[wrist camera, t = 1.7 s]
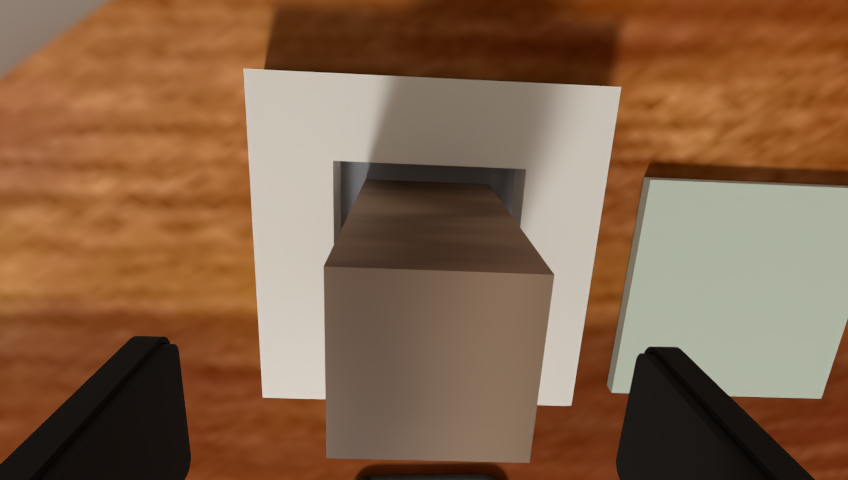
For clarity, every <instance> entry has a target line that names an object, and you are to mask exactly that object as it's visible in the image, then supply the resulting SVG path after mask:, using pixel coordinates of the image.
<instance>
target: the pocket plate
mask: <svg viewBox="0 0 848 480" xmlns="http://www.w3.org/2000/svg"><path fill="white" fill-rule="evenodd" d="M243 70H244V87H245V104H246V121H247V138H248V155H249V172H250V189H251V206H252V223H253V240H254V257H255V274H256V291H257V308H258V325H259V342H260V359H261V377H262V394H263V398H298V399H326V391H325V324H324V265H325V263H326V261H327V258H328V256H329V254H330V252H331V250H332V248H333V246H334V244H335V242H336V240H337V238H338V236H339V234H340V231H341V229H342V227H343V225H344V223H345V221H346V219H347V217H348V215H349V213H350V211H351V209H352V206H353V204H354V202H355V200H356V198H357V196H358V194H359V192H360V190H361V188H362V186H363V184H364V182H365V179H376V180H400V181H424V182H448V183H471V184H489V185H490V186H491V188H492V189H493V191H494V192H495V193H496V195H497V196H498V197H499V199H500V200H501V202H502V203H503V204H504V206H505V207H506V209H507V210H508V211H509V213H510V214H511V215H512V217H513V218H514V220H515V221H516V222H517V224H518V225H519V226H520V228H521V229H522V231H523V232H524V233H525V235H526V236H527V238H528V239H529V240H530V242H531V243H532V244H533V246H534V247H535V249H536V250H537V251H538V253H539V254H540V256H541V257H542V258H543V260H544V261H545V262H546V264H547V265H548V267H549V268H550V269H551V271H552V272H553V273H554V282H553V289H552V297H551V304H550V312H549V319H548V327H547V334H546V342H545V349H544V357H543V364H542V372H541V379H540V387H539V394H538V402H537V405H554V406H571V404H572V398H573V391H574V385H575V379H576V372H577V366H578V359H579V353H580V347H581V340H582V334H583V328H584V321H585V315H586V308H587V302H588V296H589V289H590V283H591V277H592V270H593V264H594V258H595V251H596V245H597V238H598V232H599V226H600V219H601V213H602V207H603V200H604V194H605V188H606V181H607V175H608V168H609V162H610V156H611V149H612V143H613V137H614V130H615V124H616V118H617V111H618V105H619V98H620V92H621V87H612V86H592V85H571V84H550V83H530V82H509V81H489V80H468V79H448V78H427V77H406V76H386V75H365V74H345V73H324V72H303V71H283V70H262V69H243Z"/></svg>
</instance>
